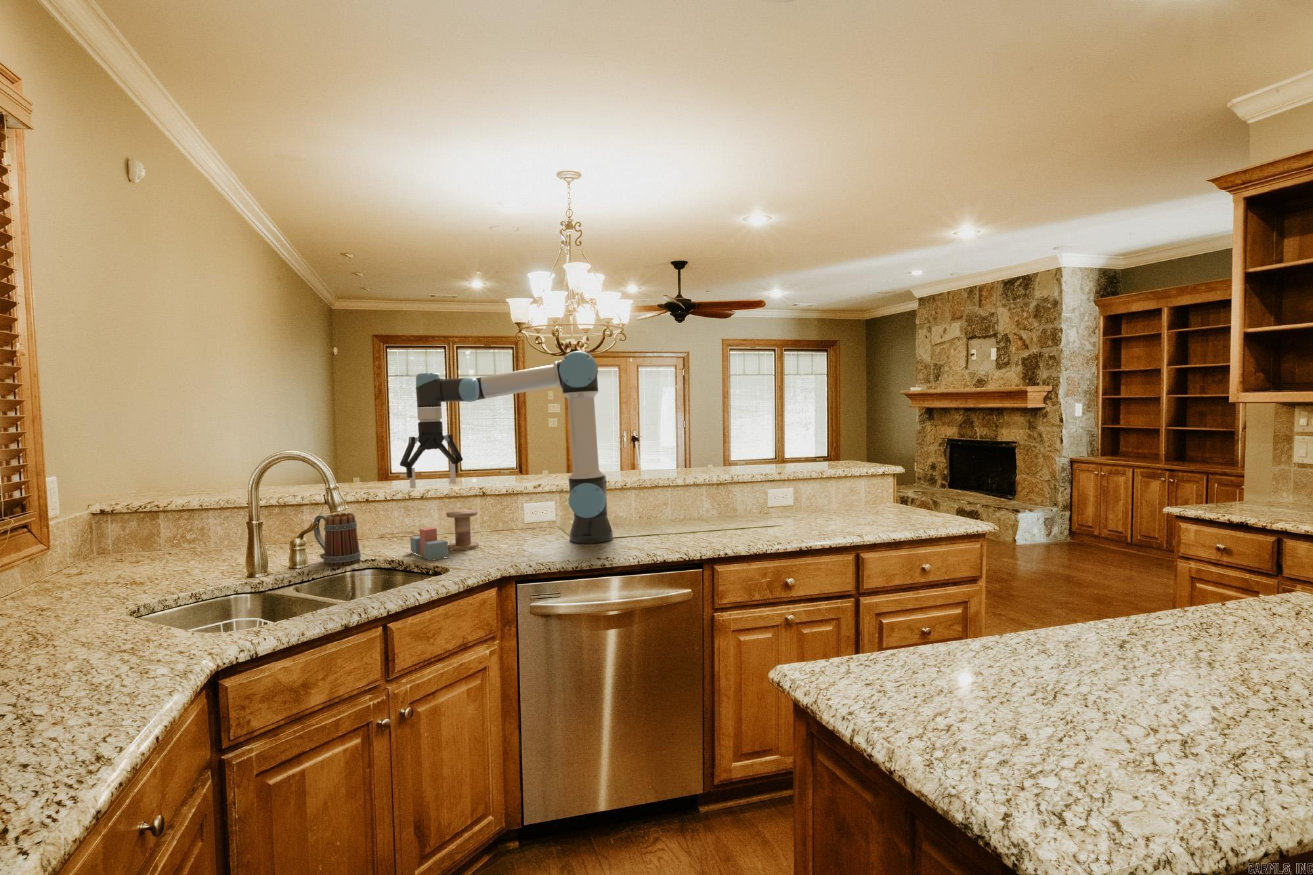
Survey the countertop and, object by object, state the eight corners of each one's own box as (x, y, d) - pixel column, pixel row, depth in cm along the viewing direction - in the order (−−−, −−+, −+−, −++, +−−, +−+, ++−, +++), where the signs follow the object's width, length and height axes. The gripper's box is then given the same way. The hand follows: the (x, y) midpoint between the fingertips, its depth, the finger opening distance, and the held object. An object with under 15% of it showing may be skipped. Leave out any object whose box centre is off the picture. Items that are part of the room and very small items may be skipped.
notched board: (448, 557, 215) (447, 541, 215) (429, 560, 211) (429, 544, 211) (428, 549, 227) (428, 534, 227) (410, 552, 223) (410, 537, 223)
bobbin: (483, 547, 229) (482, 512, 228) (455, 552, 223) (454, 515, 222) (470, 542, 237) (469, 508, 236) (443, 547, 230) (441, 512, 230)
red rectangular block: (437, 553, 219) (436, 528, 218) (425, 555, 216) (424, 530, 216) (432, 551, 222) (431, 527, 221) (420, 553, 219) (419, 528, 219)
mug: (368, 559, 214) (366, 512, 214) (343, 567, 205) (340, 518, 204) (329, 557, 220) (327, 511, 219) (303, 564, 210) (300, 516, 209)
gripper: (460, 419, 231) (464, 480, 232) (387, 422, 215) (390, 489, 216) (471, 419, 225) (474, 482, 227) (395, 422, 209) (399, 490, 210)
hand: (433, 485), depth 221 cm, fingers open, 13 cm apart
